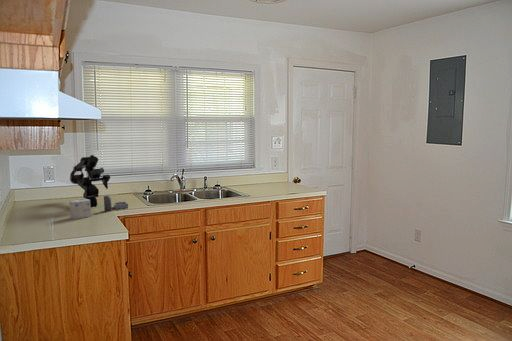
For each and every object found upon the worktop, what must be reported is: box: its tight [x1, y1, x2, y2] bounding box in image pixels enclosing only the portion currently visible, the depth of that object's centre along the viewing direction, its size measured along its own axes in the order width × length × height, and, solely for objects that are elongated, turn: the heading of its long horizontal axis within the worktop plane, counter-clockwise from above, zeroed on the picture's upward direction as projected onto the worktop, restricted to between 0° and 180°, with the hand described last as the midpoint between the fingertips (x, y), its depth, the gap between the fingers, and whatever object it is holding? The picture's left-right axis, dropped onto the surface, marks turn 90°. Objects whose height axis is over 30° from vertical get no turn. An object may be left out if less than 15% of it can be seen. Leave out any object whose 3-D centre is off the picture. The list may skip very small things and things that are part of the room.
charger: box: [103, 195, 112, 213], centre depth 268 cm, size 4×4×10 cm
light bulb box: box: [68, 198, 92, 220], centre depth 252 cm, size 11×7×11 cm, turn 141°
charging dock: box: [113, 201, 129, 210], centre depth 278 cm, size 8×8×3 cm
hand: (101, 189), depth 271 cm, fingers open, 9 cm apart
